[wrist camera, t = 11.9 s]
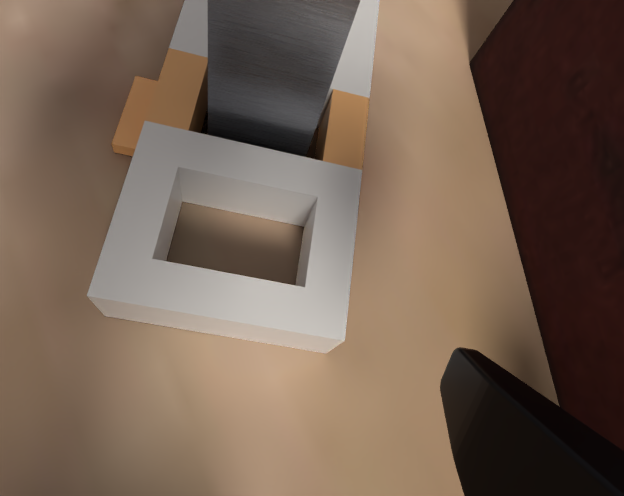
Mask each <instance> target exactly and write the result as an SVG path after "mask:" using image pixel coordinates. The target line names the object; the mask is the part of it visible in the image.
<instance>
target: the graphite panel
mask: <svg viewBox="0 0 624 496" xmlns="http://www.w3.org/2000/svg"><path fill="white" fill-rule="evenodd" d="M359 3H360V0H208V135H210V136H215V137H219V138H224V139H228V140H232V141H237V142H241V143H246V144H250V145H254V146H259V147H263V148H268V149H272V150H276V151H281V152H285V153H290V154H294V155H298V156H303V157H306V154H307V151H308V148H309V146H310V143H311V140H312V137H313V134H314V131H315V128H316V126H317V123H318V120H319V117H320V114H321V111H322V109H323V106H324V103H325V100H326V97H327V94H328V91H329V89H330V86H331V83H332V80H333V77H334V74H335V72H336V69H337V66H338V63H339V60H340V57H341V54H342V52H343V49H344V46H345V43H346V40H347V37H348V34H349V32H350V29H351V26H352V23H353V20H354V17H355V15H356V12H357V9H358V6H359Z"/></svg>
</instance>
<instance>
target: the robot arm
mask: <svg viewBox="0 0 624 496" xmlns="http://www.w3.org/2000/svg"><path fill="white" fill-rule="evenodd" d="M440 391H441V397H442V402H443V407H444V413H445V418H446V423H447V428H448V434H449V439H450V444H451V449H452V454H453V458H454V462H455V465H456V469H457V472H458V476H459V479H460V482H461V486H462V489H463V492H464V496H624V451H623V450H622V449H620V448H619V447H618V446H616V445H615V444H613V443H612V442H610V441H609V440H607V439H606V438H604V437H603V436H601V435H600V434H598V433H597V432H596V431H594V430H593V429H591V428H590V427H588V426H587V425H585V424H584V423H582V422H581V421H579V420H578V419H577V418H575V417H574V416H572V415H571V414H569V413H568V412H566V411H565V410H563V409H562V408H560V407H559V406H558V405H556V404H555V403H553V402H552V401H550V400H549V399H547V398H546V397H544V396H543V395H541V394H540V393H539V392H537V391H536V390H534V389H533V388H531V387H530V386H528V385H527V384H525V383H524V382H522V381H521V380H519V379H518V378H517V377H515V376H514V375H512V374H511V373H509V372H508V371H506V370H505V369H503V368H502V367H500V366H499V365H498V364H496V363H495V362H493V361H492V360H490V359H489V358H487V357H486V356H484V355H483V354H481V353H480V352H478V351H477V350H473V349H467V348H462V347H459V348H457V349H455V350H454V351H453V353H452V355H451V358H450V360H449V362H448V365H447V367H446V369H445V372H444V374H443V377H442V379H441V384H440Z"/></svg>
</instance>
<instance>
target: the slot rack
mask: <svg viewBox="0 0 624 496" xmlns="http://www.w3.org/2000/svg"><path fill="white" fill-rule="evenodd" d="M379 1H380V0H360V3H359V6H358V9H357V12H356V15H355V17H354V20H353V23H352V26H351V29H350V32H349V34H348V37H347V40H346V43H345V46H344V49H343V52H342V54H341V57H340V60H339V63H338V66H337V69H336V72H335V74H334V77H333V80H332V83H331V86H330V89H329V91H328V94H327V97H326V100H325V103H324V106H323V109H322V111H321V114H320V117H319V120H318V123H317V126H316V128H319V131H318V138H317V144H316V151H315V158H314V159H312V158H307V157H303V156H298V155H294V154H290V153H285V152H281V151H276V150H272V149H268V148H263V147H259V146H254V145H250V144H246V143H241V142H237V141H232V140H228V139H224V138H219V137H215V136H210V135H206V134H202V133H201V130H202V127H203V123H204V119H205V115H206V112H207V108H208V0H185V1H184V4H183V7H182V10H181V13H180V16H179V19H178V22H177V25H176V28H175V31H174V34H173V37H172V40H171V43H170V46H169V49H168V52H167V55H166V58H165V61H164V64H163V67H162V70H161V73H160V76H159V79H158V81H156V80H152V79H147V78H143V77H139V76H135V79H134V82H133V84H132V87H131V90H130V93H129V96H128V98H127V101H126V104H125V107H124V110H123V112H122V115H121V118H120V121H119V124H118V126H117V129H116V132H115V135H114V138H113V140H112V143H111V144H112V147H113V150H114V152H115V153H120V154H124V155H129V156H133V158H132V161H131V164H130V167H129V170H128V173H127V176H126V179H125V182H124V185H123V188H122V191H121V194H120V197H119V200H118V203H117V206H116V209H115V212H114V215H113V218H112V221H111V224H110V227H109V230H108V233H107V236H106V239H105V242H104V245H103V248H102V251H101V254H100V257H99V260H98V263H97V266H96V269H95V272H94V275H93V278H92V281H91V284H90V287H89V290H88V293H87V297H88V298H89V299H90V300H91V301H92V302H93V303H94V305H95V306H96V307H97V308H98V309H99V310H100V311H101V312H102V313H103V315H104V316H107V317H113V318H119V319H125V320H131V321H137V322H143V323H149V324H154V325H160V326H166V327H172V328H178V329H184V330H190V331H196V332H202V333H208V334H213V335H219V336H225V337H231V338H237V339H243V340H249V341H255V342H261V343H267V344H273V345H278V346H284V347H290V348H296V349H302V350H308V351H314V352H320V353H327V352H329V351H330V350H332V349H333V348H335V347H336V346H338V345H339V344H341V343H342V342H344V341H345V334H346V324H347V314H348V304H349V295H350V285H351V275H352V265H353V256H354V246H355V236H356V226H357V216H358V207H359V197H360V187H361V177H362V167H363V158H364V148H365V138H366V128H367V118H368V109H369V99H370V89H371V79H372V69H373V60H374V50H375V40H376V30H377V20H378V11H379ZM182 202H187V203H192V204H197V205H201V206H206V207H211V208H216V209H221V210H226V211H230V212H235V213H240V214H245V215H250V216H255V217H260V218H264V219H269V220H274V221H279V222H284V223H289V224H293V225H298V226H303V227H304V231H303V237H302V244H301V251H300V257H299V264H298V270H297V277H296V284H295V285H290V284H285V283H279V282H274V281H269V280H264V279H258V278H253V277H248V276H242V275H237V274H232V273H226V272H221V271H216V270H210V269H205V268H200V267H194V266H189V265H184V264H179V263H173V262H168V261H166V260H167V256H168V252H169V249H170V245H171V241H172V238H173V234H174V230H175V227H176V223H177V219H178V215H179V212H180V208H181V204H182Z"/></svg>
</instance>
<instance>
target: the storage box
mask: <svg viewBox="0 0 624 496" xmlns="http://www.w3.org/2000/svg"><path fill="white" fill-rule="evenodd" d="M470 69H471V73H472V76H473V80H474V84H475V88H476V92H477V95H478V99H479V103H480V107H481V110H482V114H483V118H484V122H485V126H486V129H487V133H488V137H489V141H490V144H491V148H492V152H493V156H494V160H495V163H496V167H497V171H498V175H499V178H500V182H501V186H502V190H503V194H504V197H505V201H506V205H507V209H508V212H509V216H510V220H511V224H512V228H513V231H514V235H515V239H516V243H517V247H518V250H519V254H520V258H521V262H522V265H523V269H524V273H525V277H526V281H527V284H528V288H529V292H530V296H531V299H532V303H533V307H534V311H535V315H536V318H537V322H538V326H539V330H540V333H541V337H542V341H543V345H544V349H545V352H546V356H547V360H548V364H549V367H550V371H551V375H552V379H553V383H554V386H555V390H556V394H557V398H558V401H559V405H560V408H562V409H563V410H565V411H566V412H568V413H569V414H571V415H572V416H574V417H575V418H577V419H578V420H579V421H581V422H582V423H584V424H585V425H587V426H588V427H590V428H591V429H593V430H594V431H596V432H597V433H598V434H600V435H601V436H603V437H604V438H606V439H607V440H609V441H610V442H612V443H613V444H615V445H616V446H618V447H619V448H620V449H622V450H623V451H624V0H514V1H513V2H512V3H511V5H510V6H509V8H508V9H507V11H506V12H505V13H504V15H503V16H502V18H501V19H500V21H499V22H498V23H497V25H496V26H495V28H494V29H493V31H492V32H491V33H490V35H489V36H488V38H487V39H486V40H485V42H484V43H483V45H482V46H481V48H480V49H479V50H478V52H477V53H476V55H475V56H474V58H473V59H472V60H471V62H470Z"/></svg>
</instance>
